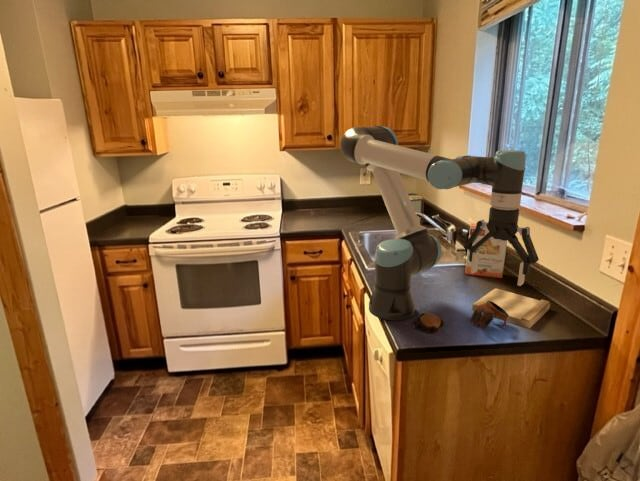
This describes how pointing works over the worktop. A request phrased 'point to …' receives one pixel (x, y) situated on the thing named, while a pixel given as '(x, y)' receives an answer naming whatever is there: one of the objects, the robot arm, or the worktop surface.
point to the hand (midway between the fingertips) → (496, 278)
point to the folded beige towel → (516, 307)
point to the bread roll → (428, 323)
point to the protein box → (417, 205)
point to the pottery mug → (488, 314)
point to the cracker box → (487, 255)
